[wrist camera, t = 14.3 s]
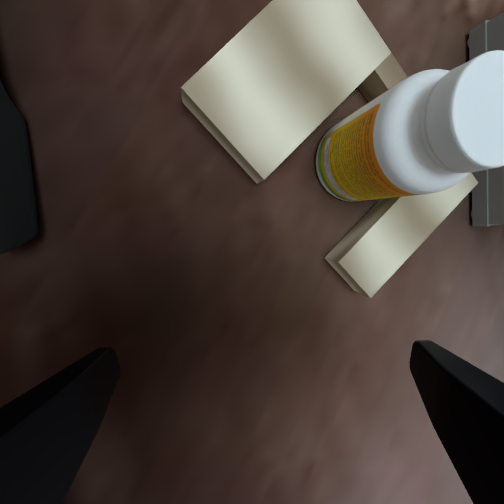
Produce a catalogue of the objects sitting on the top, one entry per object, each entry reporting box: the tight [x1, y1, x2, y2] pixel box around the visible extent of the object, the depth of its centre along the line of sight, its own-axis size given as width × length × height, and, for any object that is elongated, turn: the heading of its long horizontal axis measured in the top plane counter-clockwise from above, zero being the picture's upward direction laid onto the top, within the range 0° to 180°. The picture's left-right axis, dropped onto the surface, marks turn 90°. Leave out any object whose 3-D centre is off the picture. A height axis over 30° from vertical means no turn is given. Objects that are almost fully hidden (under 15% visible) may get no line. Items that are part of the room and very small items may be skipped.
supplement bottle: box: [316, 50, 504, 201], centre depth 15 cm, size 5×5×10 cm
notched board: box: [181, 0, 478, 298], centre depth 18 cm, size 11×17×2 cm, turn 44°
